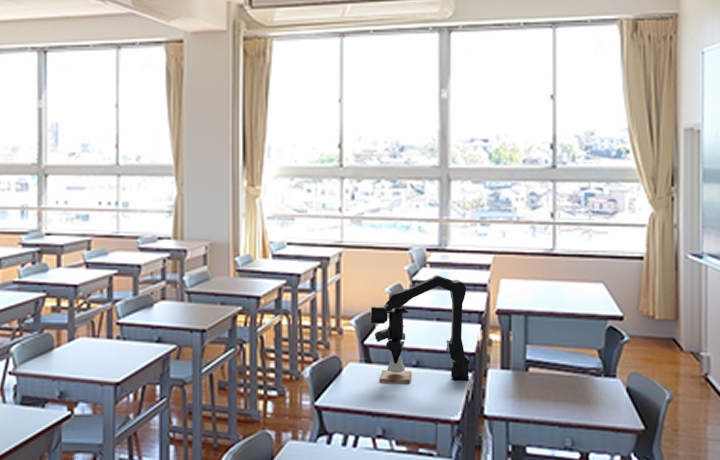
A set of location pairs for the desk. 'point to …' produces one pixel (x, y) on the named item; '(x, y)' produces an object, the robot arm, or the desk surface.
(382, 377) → the flat brown panel
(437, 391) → the desk surface
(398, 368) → the flask
